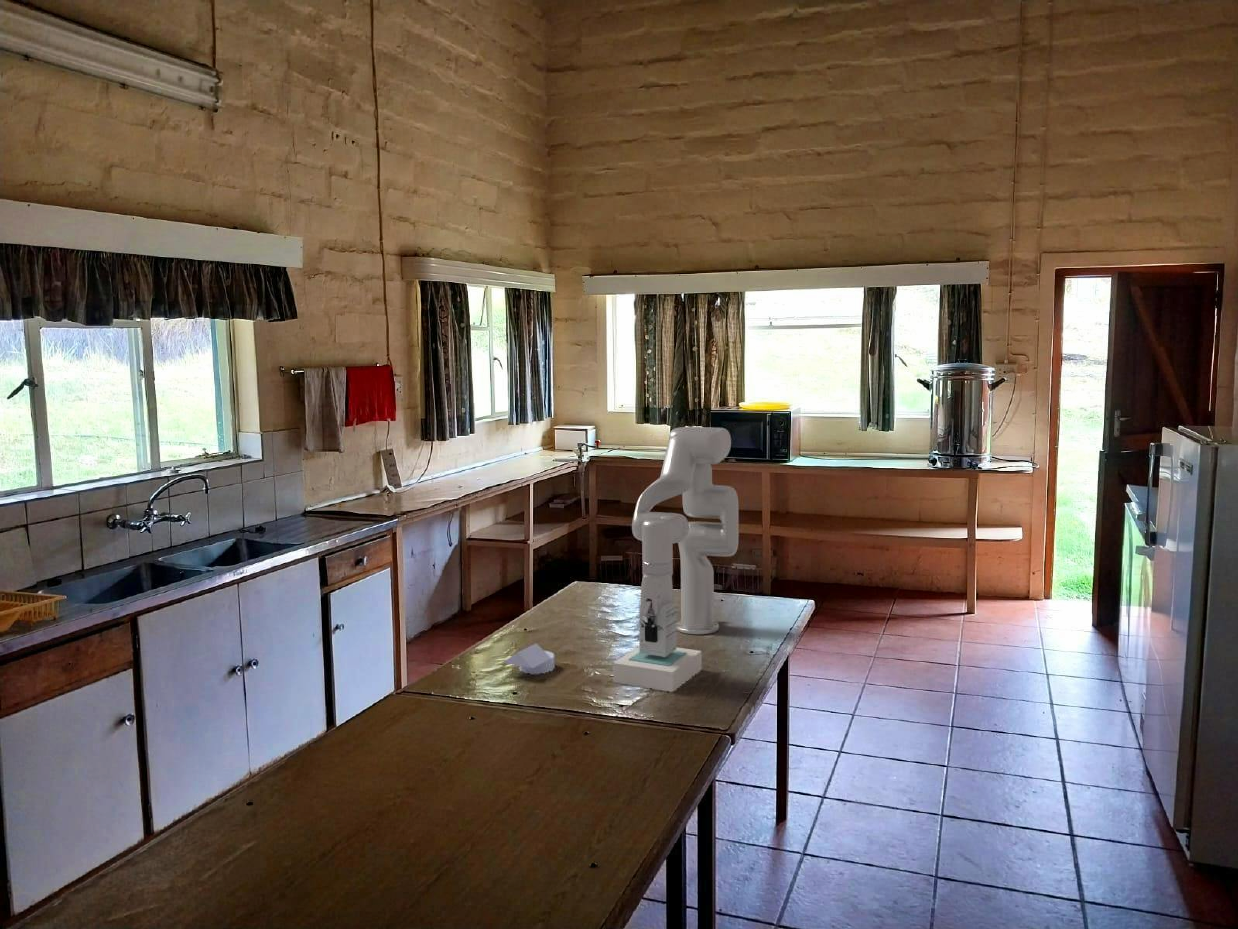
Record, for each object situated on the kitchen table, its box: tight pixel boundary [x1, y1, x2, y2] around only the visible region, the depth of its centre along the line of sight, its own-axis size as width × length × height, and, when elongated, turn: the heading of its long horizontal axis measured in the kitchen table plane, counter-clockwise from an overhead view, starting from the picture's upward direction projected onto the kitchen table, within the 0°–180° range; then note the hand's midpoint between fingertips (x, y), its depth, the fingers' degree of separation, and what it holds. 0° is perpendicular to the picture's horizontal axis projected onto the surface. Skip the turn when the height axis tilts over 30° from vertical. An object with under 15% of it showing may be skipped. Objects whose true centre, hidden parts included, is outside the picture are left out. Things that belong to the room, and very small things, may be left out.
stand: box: [612, 646, 702, 693], centre depth 246 cm, size 18×16×5 cm
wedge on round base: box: [503, 643, 555, 675], centre depth 252 cm, size 9×7×13 cm
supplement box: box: [638, 600, 678, 657], centre depth 245 cm, size 7×7×13 cm
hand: (658, 636), depth 246 cm, fingers closed on supplement box, 7 cm apart
